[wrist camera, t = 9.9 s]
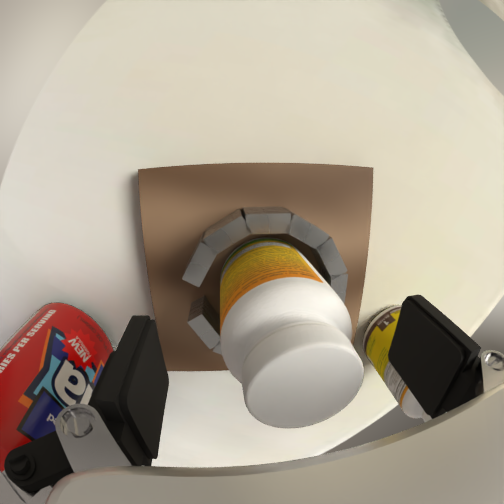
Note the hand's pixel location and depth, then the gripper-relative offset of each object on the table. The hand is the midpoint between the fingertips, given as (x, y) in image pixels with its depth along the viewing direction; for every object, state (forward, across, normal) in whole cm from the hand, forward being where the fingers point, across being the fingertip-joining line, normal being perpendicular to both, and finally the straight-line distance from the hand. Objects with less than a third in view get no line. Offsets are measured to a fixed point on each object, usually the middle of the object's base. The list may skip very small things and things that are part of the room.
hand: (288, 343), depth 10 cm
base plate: (+9, 0, +1) cm, 9 cm away
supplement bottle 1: (+8, 0, +1) cm, 8 cm away
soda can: (+9, +15, +6) cm, 19 cm away
